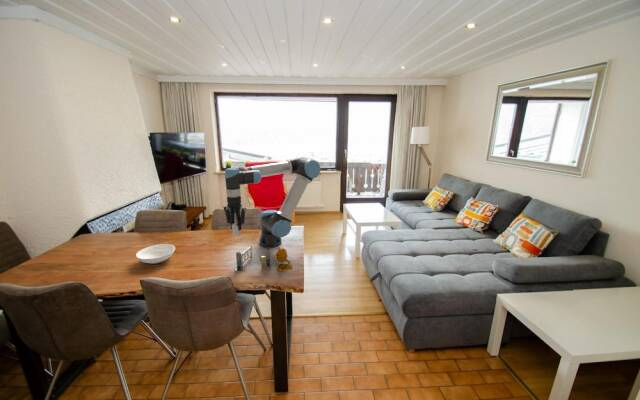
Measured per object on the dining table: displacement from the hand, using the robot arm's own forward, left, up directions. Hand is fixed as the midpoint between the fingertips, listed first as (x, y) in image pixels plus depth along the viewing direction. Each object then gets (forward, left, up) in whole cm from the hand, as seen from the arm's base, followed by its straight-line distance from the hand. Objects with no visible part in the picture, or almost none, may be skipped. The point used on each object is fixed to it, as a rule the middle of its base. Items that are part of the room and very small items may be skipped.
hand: (236, 234), depth 154 cm
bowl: (-11, -46, -17) cm, 51 cm away
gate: (+4, +5, -16) cm, 17 cm away
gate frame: (+11, +8, -16) cm, 21 cm away
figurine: (+15, +25, -17) cm, 33 cm away
